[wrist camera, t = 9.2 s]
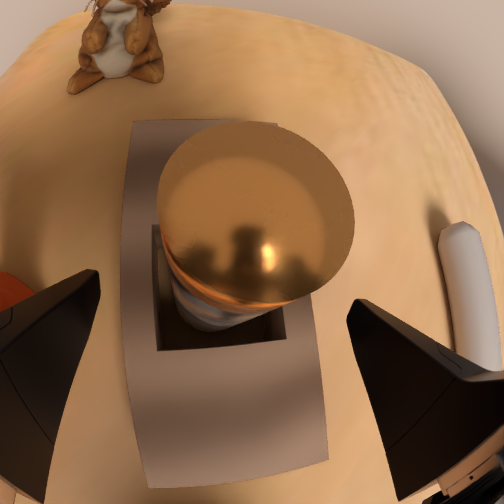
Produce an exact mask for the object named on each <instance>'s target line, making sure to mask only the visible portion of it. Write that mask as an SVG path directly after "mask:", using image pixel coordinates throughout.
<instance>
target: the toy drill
mask: <svg viewBox="0 0 504 504" xmlns="http://www.w3.org/2000/svg"><path fill="white" fill-rule="evenodd" d="M34 294H35V293H34V292H33V291H32V290H31V289H30V288H29V287H27V286H26V285H25V284H24V283H22V282H21V281H20V280H18V279H17V278H15V277H14V276H13V275H11V274H9V273H5V272H0V312H1V311H3V310H5V309H7V308H9V307H11V306H12V307H13V305H15V304H16V303H18V302H20V301H22V300H24V299H26V298H28V297H30V296H32V295H34Z"/></svg>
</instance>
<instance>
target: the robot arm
mask: <svg viewBox="0 0 504 504" xmlns="http://www.w3.org/2000/svg"><path fill="white" fill-rule="evenodd" d="M100 295H101V290H100V279H99V273H98V271H97V270H91V269H86V270H83V271H81V272H79V273H77V274H75V275H73V276H71V277H69V278H67V279H64V280H62V281H60V282H58V283H56V284H54V285H52V286H50V287H48V288H46V289H44V290H42V291H40V292H38V293H36V294H34V295H32V296H30V297H28V298H26V299H24V300H22V301H20V302H18V303H16V304H15V305H13V307H12V306H11V307H9V308H7V309H5V310H3V311H1V312H0V504H14V502H15V497H16V492H17V493H19V494H21V495H23V496H25V497H27V498H29V499H31V500H33V501H36V502H38V503H40V504H44V500H45V493H46V487H47V481H48V475H49V470H50V465H51V460H52V455H53V451H54V445H55V441H56V437H57V433H58V429H59V426H60V422H61V418H62V415H63V411H64V408H65V404H66V401H67V398H68V395H69V391H70V388H71V385H72V382H73V379H74V376H75V373H76V370H77V368H78V365H79V362H80V359H81V357H82V354H83V351H84V349H85V346H86V343H87V341H88V338H89V335H90V332H91V328H92V325H93V321H94V317H95V314H96V310H97V307H98V304H99V300H100ZM346 322H347V326H348V330H349V334H350V338H351V343H352V347H353V351H354V355H355V358H356V361H357V364H358V367H359V370H360V373H361V375H362V378H363V381H364V384H365V387H366V390H367V393H368V397H369V400H370V403H371V406H372V409H373V412H374V415H375V419H376V422H377V425H378V429H379V432H380V435H381V439H382V442H383V446H384V449H385V452H386V457H387V461H388V464H389V468H390V472H391V476H392V480H393V484H394V488H395V492H396V496H397V499H398V501H402V500H404V499H406V498H409V497H411V496H413V495H415V494H417V493H419V492H421V491H423V490H425V489H427V488H429V487H431V486H433V485H435V484H437V483H438V484H439V486H440V489H441V491H439V492H437V493H436V494H434V495H432V496H430V497H429V498H427V499H425V500H424V501H423V502H422V504H504V371H490V370H487V369H485V368H483V367H481V366H479V365H477V364H475V363H473V362H472V361H470V360H468V359H466V358H464V357H462V356H460V355H459V354H457V353H455V352H453V351H452V350H450V349H448V348H447V347H445V346H443V345H441V344H440V343H438V342H435V340H433V339H432V338H430V337H428V336H427V335H425V334H423V333H422V332H420V331H418V330H417V329H415V328H413V327H412V326H410V325H408V324H407V323H405V322H403V321H402V320H400V319H398V318H397V317H395V316H393V315H392V314H390V313H388V312H386V311H385V310H383V309H381V308H380V307H378V306H376V305H375V304H373V303H371V302H370V301H368V300H366V299H355V300H354V302H353V304H352V306H351V308H350V311H349V313H348V315H347V319H346Z"/></svg>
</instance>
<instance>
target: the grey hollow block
mask: <svg viewBox="0 0 504 504" xmlns="http://www.w3.org/2000/svg"><path fill="white" fill-rule="evenodd" d="M235 121H239V120H213V119H172V120H146V121H133V126H132V132H131V139H130V145H129V152H128V159H127V167H126V176H125V185H124V196H123V208H122V224H121V247H120V300H121V323H122V338H123V350H124V360H125V370H126V378H127V386H128V393H129V400H130V406H131V412H132V418H133V423H134V429H135V434H136V439H137V443H138V448H139V452H140V457H141V461H142V465H143V469H144V473H145V477H146V480H147V484H148V487H149V488H181V487H197V486H208V485H217V484H225V483H233V482H239V481H245V480H251V479H256V478H262V477H266V476H271V475H276V474H280V473H284V472H288V471H292V470H296V469H300V468H303V467H307V466H310V465H314V464H317V463H320V462H323V461H326V460H329V454H328V441H327V428H326V417H325V406H324V396H323V387H322V378H321V369H320V361H319V353H318V345H317V337H316V330H315V323H314V315H313V309H312V302H311V295H310V294H308V295H306V296H304V297H301V298H299V299H297V300H295V301H292V302H290V303H288V304H286V305H283V306H281V307H279V308H276V309H274V310H271V311H269V312H267V313H264V314H263V319H264V327H265V335H266V341H261V342H253V343H244V344H235V345H225V346H214V347H202V348H188V349H171V350H163V341H162V330H161V317H160V302H159V282H158V249H159V248H164V246H163V241H162V235H161V230H160V224H159V218H158V212H157V192H158V185H159V181H160V177H161V174H162V172H163V170H164V167H165V165H166V163H167V162H168V160H169V159H170V157H171V156H172V154H173V153H174V152H175V151H176V150H177V148H178V147H179V146H180V145H181V144H183V143H184V142H185V141H186V140H187V139H188V138H190V137H192V136H193V135H195V134H196V133H198V132H200V131H202V130H204V129H206V128H209V127H212V126H215V125H218V124H222V123H227V122H235ZM254 122H255V121H254ZM262 123H267V122H262ZM267 124H271V125H275V126H278V125H277V123H267Z"/></svg>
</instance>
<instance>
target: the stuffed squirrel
mask: <svg viewBox="0 0 504 504" xmlns="http://www.w3.org/2000/svg"><path fill="white" fill-rule="evenodd" d="M92 1H93V0H91V1H90V2H89V3H88V5H87V6H86V8H85V10H84V12H86V10H87V8H88V6H89V4H90V3H91V2H92ZM171 1H172V0H95V4H94V7H93V11H92V14H91V16H93V19H92V20H91V22H90V23H89V25H88V26H87V28H86V29H85V30H84V32H83V35H82V46H81V48H80V50H79V56H78V58H79V63H80V66H81V68H80V69H79V70H77V71H76V72H75V74H74V75H73V76H72V77H71V79H70V80H69V83H68V86H67V92H68V93H69V94H77V93H79V92H80V91H82V90H84V89H86V88H87V87H89V86H91V85H92V84H94V83H95V82H97V81H98V80H100V79H101V78H102V77H105V78H118V77H123V76H126V75H128V74H129V75H131V76H132V77H135V78H137V79H141V80H144V81H147V82H151V83H157V82H160V81H161V80H162V78H163V74H164V65H163V59H162V52H161V50H160V48H159V46H158V42H157V37H156V33H155V30H154V27H153V24H152V22H153V21H152V17H151V16H153V15H154V14H156V13H159V12H160V10H161V9H162V8H165V7H166V6H167V5H168V4H170V2H171ZM96 5H97V7H98V9H97V10H96V11H95V7H96ZM94 11H95V13H94Z"/></svg>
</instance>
